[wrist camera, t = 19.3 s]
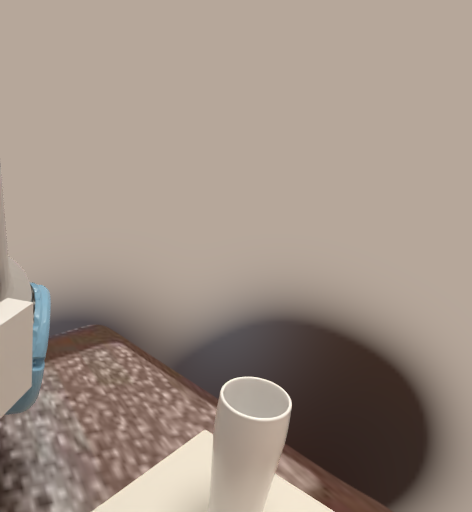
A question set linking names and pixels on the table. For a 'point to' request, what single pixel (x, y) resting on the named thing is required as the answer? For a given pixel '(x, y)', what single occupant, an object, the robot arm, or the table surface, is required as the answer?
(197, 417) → the table surface
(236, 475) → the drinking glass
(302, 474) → the table surface
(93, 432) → the table surface
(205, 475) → the felt placemat
